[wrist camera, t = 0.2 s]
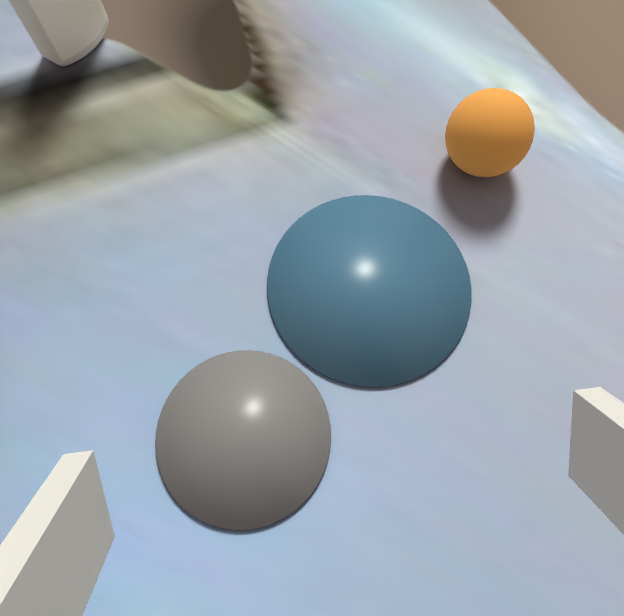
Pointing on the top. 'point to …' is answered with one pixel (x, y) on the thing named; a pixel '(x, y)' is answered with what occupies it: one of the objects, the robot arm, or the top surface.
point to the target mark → (369, 291)
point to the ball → (489, 132)
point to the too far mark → (243, 440)
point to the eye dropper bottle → (63, 27)
